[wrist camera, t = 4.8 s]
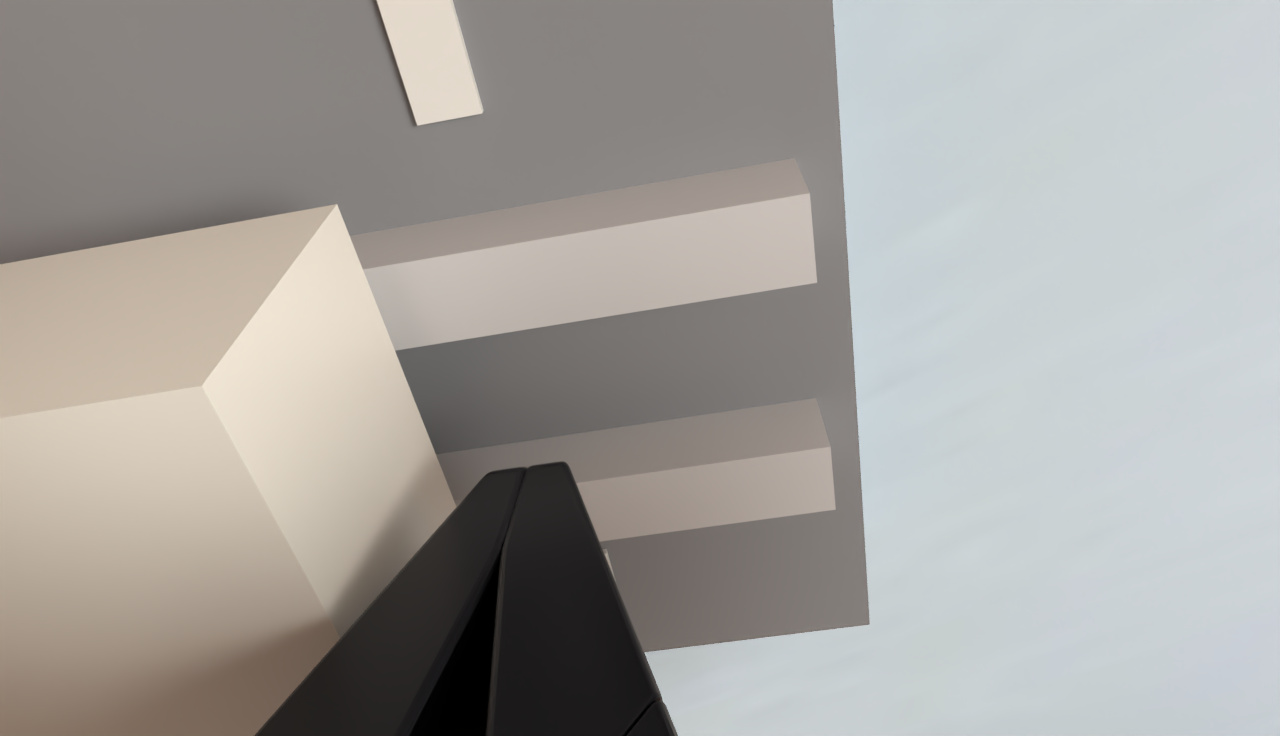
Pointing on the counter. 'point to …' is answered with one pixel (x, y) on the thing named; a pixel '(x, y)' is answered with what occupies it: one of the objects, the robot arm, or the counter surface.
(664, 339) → the fader console
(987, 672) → the counter surface
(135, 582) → the fader tab
